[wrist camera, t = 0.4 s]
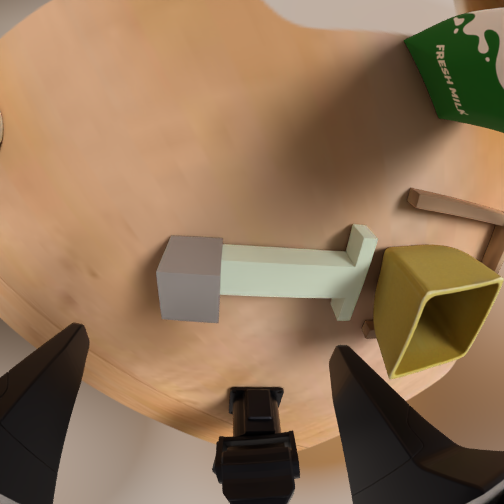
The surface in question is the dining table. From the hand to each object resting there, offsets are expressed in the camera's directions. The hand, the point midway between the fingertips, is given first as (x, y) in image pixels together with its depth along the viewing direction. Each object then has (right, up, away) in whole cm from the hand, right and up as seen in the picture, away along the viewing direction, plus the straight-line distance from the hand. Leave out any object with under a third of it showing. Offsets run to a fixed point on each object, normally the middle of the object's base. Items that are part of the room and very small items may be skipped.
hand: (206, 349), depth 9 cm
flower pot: (+16, +2, +15) cm, 22 cm away
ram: (+3, +2, +14) cm, 15 cm away
